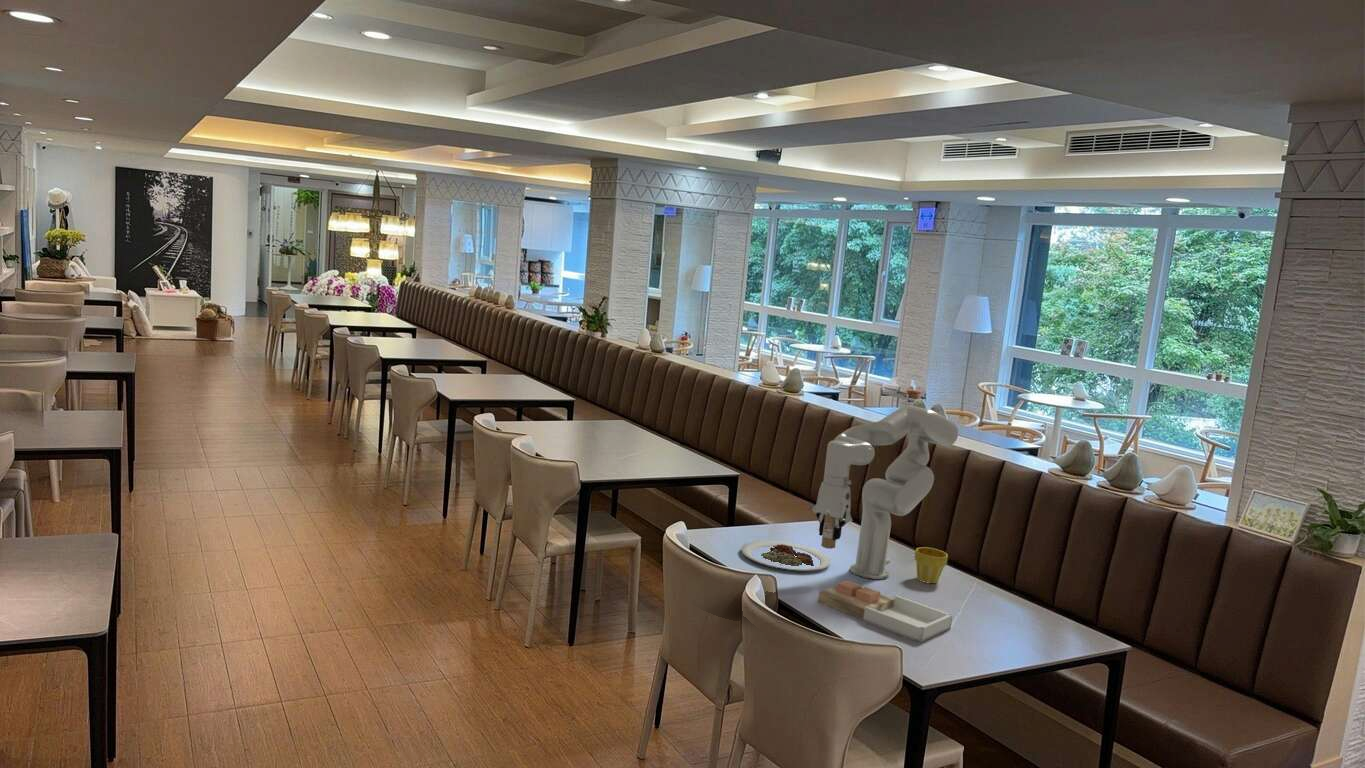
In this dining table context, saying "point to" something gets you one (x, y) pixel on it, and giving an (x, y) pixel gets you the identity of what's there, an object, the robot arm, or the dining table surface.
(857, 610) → the grooved oak block
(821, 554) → the plated food
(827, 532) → the sprinkles bottle
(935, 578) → the plant pot
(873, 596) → the front tile
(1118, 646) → the dining table surface
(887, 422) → the robot arm
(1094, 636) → the dining table surface
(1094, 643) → the dining table surface
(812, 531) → the dining table surface
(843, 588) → the rear tile
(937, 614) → the box
